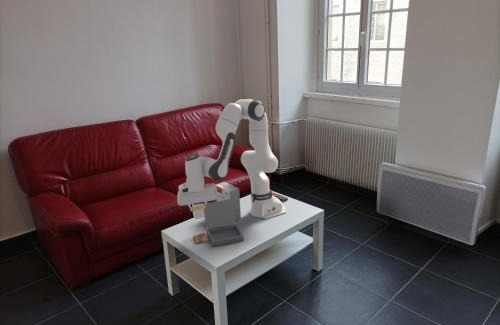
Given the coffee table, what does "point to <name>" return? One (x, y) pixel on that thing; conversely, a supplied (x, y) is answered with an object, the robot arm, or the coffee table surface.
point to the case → (225, 235)
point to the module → (198, 210)
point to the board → (201, 238)
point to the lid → (219, 214)
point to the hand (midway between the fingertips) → (198, 210)
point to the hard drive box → (229, 196)
